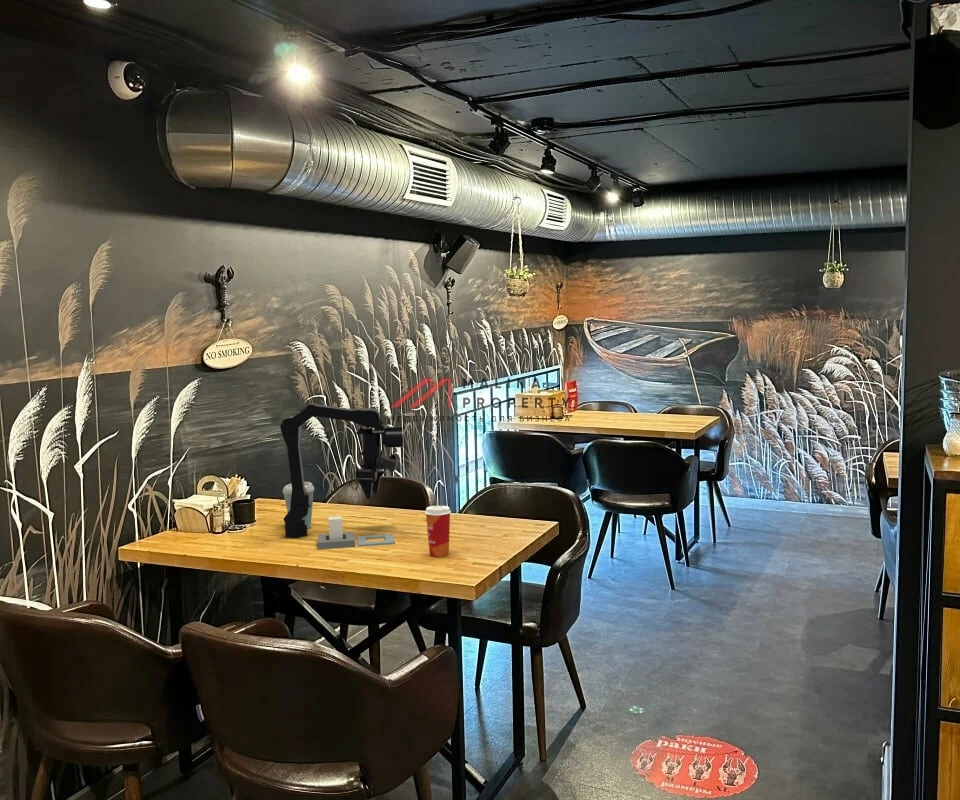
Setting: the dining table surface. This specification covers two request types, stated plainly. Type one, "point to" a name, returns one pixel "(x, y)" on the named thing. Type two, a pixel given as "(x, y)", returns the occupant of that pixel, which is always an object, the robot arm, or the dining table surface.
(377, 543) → the low dock
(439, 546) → the paper cup
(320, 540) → the raised dock
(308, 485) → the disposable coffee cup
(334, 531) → the plug
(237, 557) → the dining table surface
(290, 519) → the robot arm
